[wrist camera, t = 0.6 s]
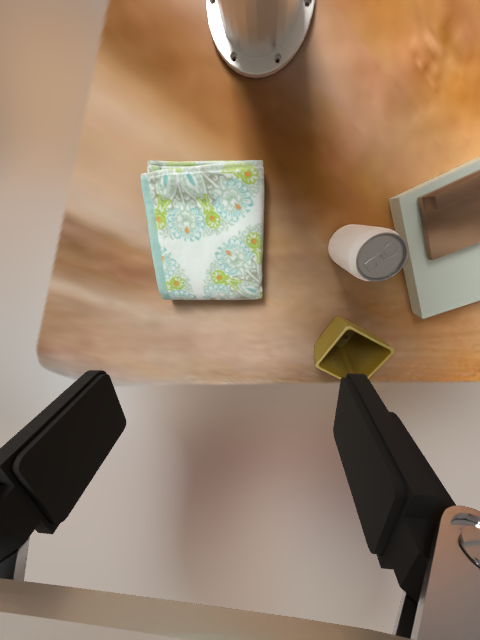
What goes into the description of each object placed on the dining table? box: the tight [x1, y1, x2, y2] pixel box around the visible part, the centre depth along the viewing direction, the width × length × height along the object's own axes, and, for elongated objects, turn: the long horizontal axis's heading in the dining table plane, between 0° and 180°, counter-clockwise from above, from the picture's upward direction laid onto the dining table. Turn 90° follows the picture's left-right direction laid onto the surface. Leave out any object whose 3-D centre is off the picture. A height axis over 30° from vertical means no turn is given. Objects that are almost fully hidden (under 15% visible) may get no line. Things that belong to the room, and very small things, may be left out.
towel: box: [141, 160, 265, 300], centre depth 37 cm, size 18×21×5 cm
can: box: [328, 224, 408, 281], centre depth 32 cm, size 6×6×12 cm
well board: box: [388, 156, 480, 319], centre depth 34 cm, size 20×14×3 cm
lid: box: [418, 170, 480, 260], centre depth 30 cm, size 9×10×4 cm
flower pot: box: [314, 316, 395, 380], centre depth 40 cm, size 9×9×9 cm
